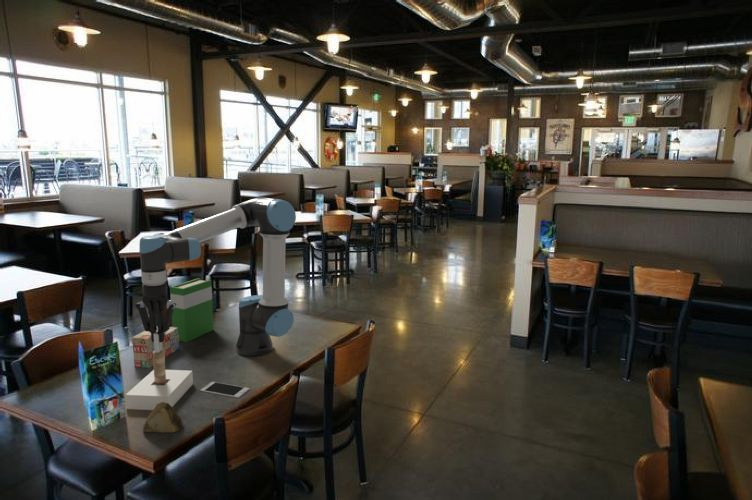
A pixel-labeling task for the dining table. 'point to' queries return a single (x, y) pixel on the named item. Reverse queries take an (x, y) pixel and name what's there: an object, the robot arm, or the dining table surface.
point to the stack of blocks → (146, 347)
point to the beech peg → (159, 368)
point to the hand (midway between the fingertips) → (158, 350)
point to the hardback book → (192, 308)
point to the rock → (163, 419)
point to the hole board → (159, 390)
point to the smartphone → (225, 389)
